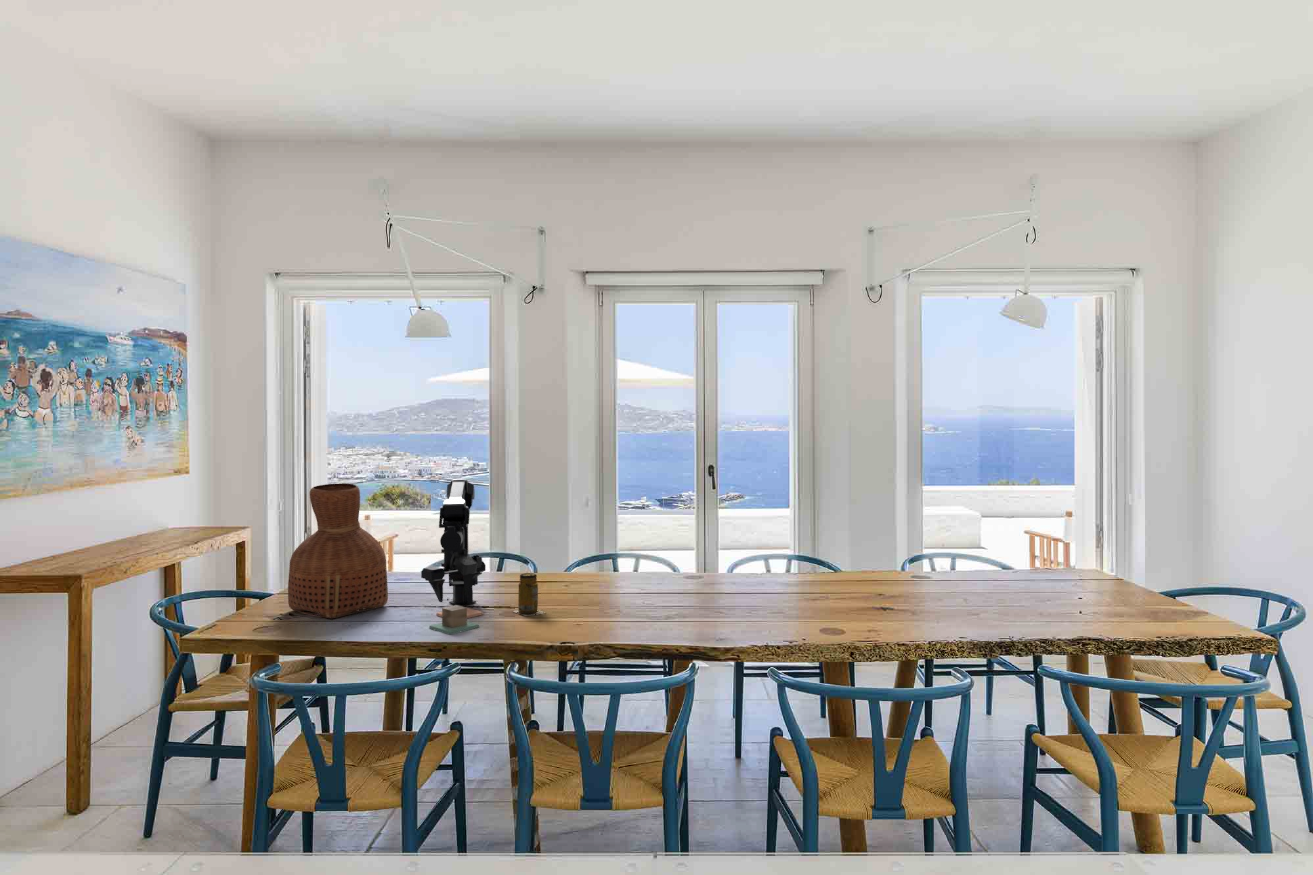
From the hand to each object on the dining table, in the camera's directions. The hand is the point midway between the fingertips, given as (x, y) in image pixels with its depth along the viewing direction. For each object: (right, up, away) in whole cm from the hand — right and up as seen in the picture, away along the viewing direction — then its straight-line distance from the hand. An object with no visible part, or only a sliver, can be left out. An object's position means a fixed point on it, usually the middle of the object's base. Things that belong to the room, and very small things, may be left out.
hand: (454, 599), depth 222 cm
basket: (-43, -8, +22) cm, 49 cm away
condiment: (+19, -8, +19) cm, 28 cm away
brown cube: (0, -8, 0) cm, 8 cm away
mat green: (0, -8, 0) cm, 8 cm away
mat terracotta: (-2, -8, +15) cm, 17 cm away
